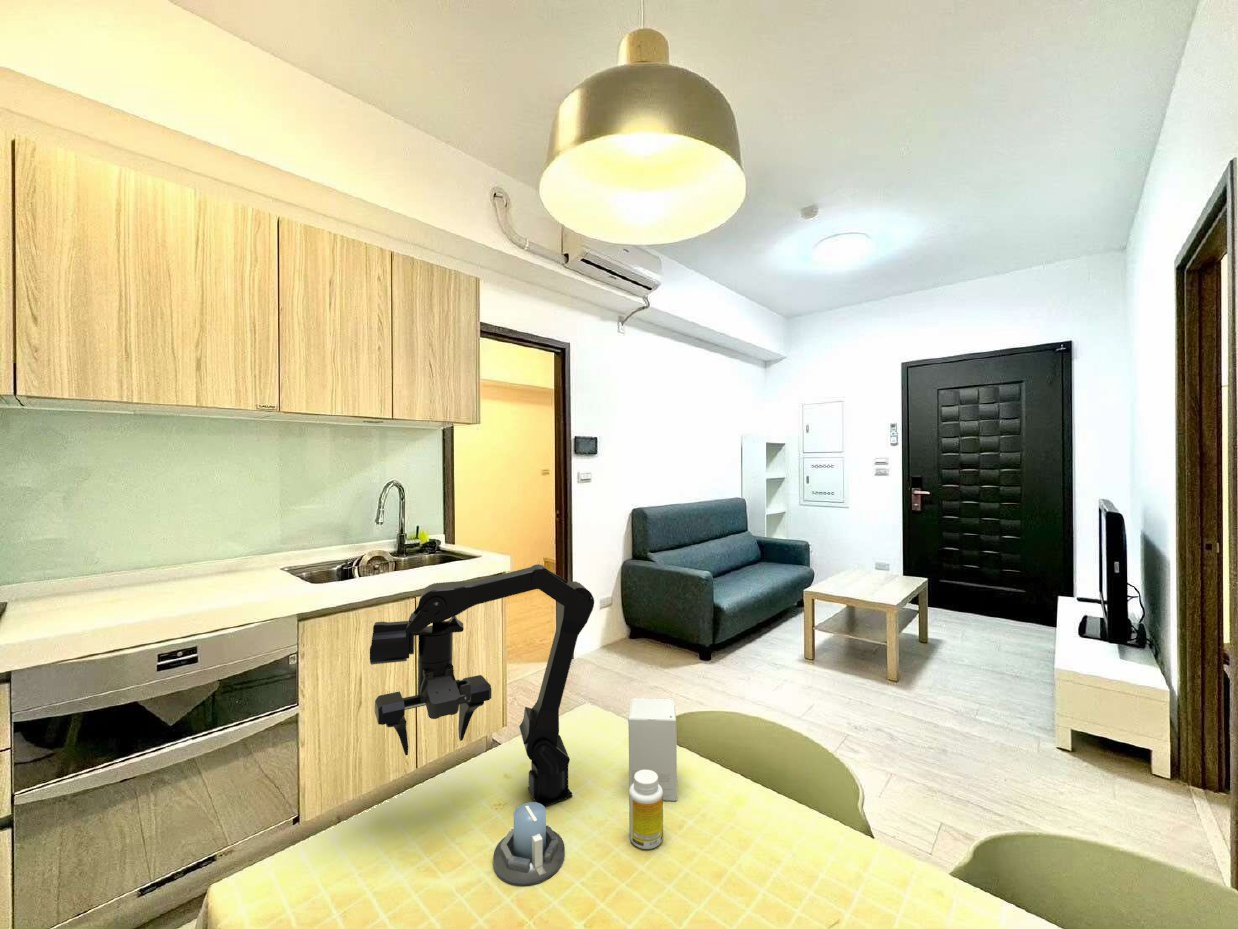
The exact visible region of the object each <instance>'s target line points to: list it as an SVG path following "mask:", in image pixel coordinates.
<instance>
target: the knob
mask: <svg viewBox="0 0 1238 929" xmlns="http://www.w3.org/2000/svg"><path fill="white" fill-rule="evenodd" d="M546 825H547V809H546V806H545V807H544V806H543V805H542V804H540V803H536V801H532V802H525V803H523V804H519V806H518V807H516V809H515V810H514V811H513V829H514V856H516V857H521V858H526V859H530V863H532V864H533V866H534V868H535V869H536V868H538V867H540V866H543V856H544V854H545V852H546Z"/></svg>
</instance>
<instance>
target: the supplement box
mask: <svg viewBox="0 0 1238 929" xmlns="http://www.w3.org/2000/svg"><path fill="white" fill-rule="evenodd" d="M629 708H630V709H629V714H628V717H627V718H628V719H627V721H628V722H627V723H628V776H629V777H628V778H629V779H628V786H629V788H628V789H629V790H630V787H631V785H632V784H633V783H634V775H635V773H636V772H638V771H640V770H651V771H654V772H655V773H656V774H657V775H658V784H659V785H660V786H661V788H662V790H663V801H665V802H666V801H668V802H672V801H673V802H676V801H678V784H677V783H678V770H677V769H678V767H677V765H678V764H677V761H678V760H677V759H678V754H677V753H678V751H677V748H678V747H677V746H678V745H677V744H678V743H677V738H678V737H677V712H676V705H675V699H669V698H666V699H665V698H664V699H663V698H659V699H658V698H635V697H634V698H631V700H630V707H629Z"/></svg>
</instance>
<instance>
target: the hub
mask: <svg viewBox="0 0 1238 929" xmlns="http://www.w3.org/2000/svg"><path fill="white" fill-rule="evenodd" d="M565 847H566V846H565V842H564V840H563V838H562V836H560V834H558V833H557V832H556V831H555V830H553V829H552V827H551V826H550V825H547V824H546V852H545V854H544V856H543V866H540V867H538V868H536V869H535V868H534V866H533V864H532V863H530V859H526V858H521V857H516V856H514V828H512V829H510V830H509V831H508V833H507V834H506V836H504V837H503V838H502V839H501V840H500V841H499V842H498V843H497V845H496V846H495V848H494V850H493V851H494V852H493V858H492V859H493V862H492V863H493V864H492V865H493V869H494V872H495V874H496V876H497V878H499V879H500V880H501V881H503V882H505V883H506V884H508V885H512V886H517V887H528V886H529V887H530V886H535V885H538V884H541V883H543V882H546V881H547V880H550V878H552V877H553V876H554V875H556V874H557V873H558V872H559V870H560V869H561V868H562V867H563V864H564V861H565V854H566V853H565V851H566V850H565V849H566V848H565Z"/></svg>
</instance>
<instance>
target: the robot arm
mask: <svg viewBox="0 0 1238 929" xmlns="http://www.w3.org/2000/svg"><path fill="white" fill-rule="evenodd" d="M535 590H539V591H541V592H543V593H544V594H545V595H547V596H548V597H550V598H551V599H552V600H554V601H555V602H556V607H555V608H556V609H555V610H556V616H555V618H556V619H555V620H556V627H555V633H554V635H553V641H552V644H551V648H550V651H549V656H548V659H547V664H546V667H545V670H544V674H543V677H542V678H543V679H542V683H541V684H540V685H541V686H540V690H539V692H538V697H537V701H536V702H535V703H534V705H533V706H532V708H530V707H528V706H525V707H524V712H523V713H524V714H523V719H522V721H521V723H520V725H519V730H520V735H521V738H522V742H523V745H524V749H525V754H526V756H527V757H528V759H529V760H530V763H531V764H530V765H531V767H530V768H531V769H530V770H529V771H528V787H527V791H528V793H529V795H530V797H531V798H532V800H534V802H536V803H540V804H542V805H543V806H544V807H545V808H546V807H548V806H550V805H553V804H556V803H559V802H562V801H564V800H567V799H570V798H572V797H573V792H572V791H571V789H570V788H569V764H570V756H569V754H568V752H567V748H566V747H565V744H564V742H563V739H562V737H561V735H560V722H559V721H560V718H559V716H560V715H559V714H560V706H561V703H562V700H563V699H562V698H563V695H564V691H565V689H566V688H565V687H566V683H567V680H568V677H569V672H570V669H571V665H572V664H571V663H572V661H573V657H574V653H575V648H576V646H577V642H578V637H579V636H580V633H581V632H582V631H583V629H584V628H585V626H586V625H587V624H588V622H589V619H590V616H591V614H592V612H593V610H594V607H595V598H594V596H593V594H592V592H591V591H590V590H588V588H586V587H585V586H584V585H583V584H581V582H579V581H573V580H572V581H567V580H566V579H564V578H562V577H561V576H560V575H558V574H555V573H554V572H552V571H551V570H549V569H548V568H546V566H544V565H543V564H534V565H532V566H530V567H525V568H521V569H518V570H515V571H514V570H513V571H510V572H506V573H501V574H497V575H494V576H493V575H492V576H490V577H485V578H481V579H478V580H477V579H476V580H473V581H446V582H445V581H444V582H443V581H442V582H436V583H435V582H434V583H431V584H428V585H427V586H425V588H424V589H423V590H422V592H421V593H420V598H419V601H418V605H417V607H416V608H415V610H414V611H413V612H412V613H410V615H409V617H408V620H401V621H388V622H387V621H376V622H374V624H373V627H372V636H371V642H370V643H371V645H370V647H369V664H370V665H373V666H374V665H383V664H393V663H400V662H401V663H402V662H407V661H408V659H410V655H415V646H416V645H415V644H416V642H415V641H416V636H417V638H418V644H417V645H418V648H417V649H418V650H417V654H418V655H417V694H415V695H410V696H406V697H403V696H402V693H401V691H394V692H390V693H386V694H381V695H378V696H377V697H376V698H375V699H374V714H375V717H376V721H377V725H380V726H384V725H386V727H387V728H394V730H395V731H396V734H397V735H398V737H399V740H400V743H401V746H402V750H403V752H404V753H403V754H404V756H406V757H407V756H408V755H409V741H408V733H407V720H406V717H405V714H406V711H407V710H411V709H417V708H421V707H424V706H425V707H426V711H427V716H428V718H429V719H431V720H437V719H439V718H441V717H446V716H454V715H457V714H458V728H457V730H458V739H459V741H460V742H461V741H463V740H464V737H465V735H466V732H467V730H468V727H469V724H470V720H471V718H472V717H473V715H474V712H475V711H476V710H477V709H478V708H479V707H481V706H484V704H485V702H487V701H490V700H491V699H492V686H491V684H490V683H489V682H488V680H487V679H486V678H485V677H484V676H483V675H482V674H478V675H474V676H468V677H463V678H462V679H456V676H455V674H454V673H455V672H454V665H453V650H454V649H453V647H454V646H453V643H454V642H453V641H454V640H453V637H454V633H462V632H463V631H464V629H465V628H464V627H465V626H464V623H463V622H462V621H461V620H460V619H458V618H457V615H458V616H459V615H460V614H461V613H463V612H464V611H466V610H468V609H470V608H472V607H474V606H478V605H480V604H481V605H482V604H485V603H489V602H493V601H496V600H499V599H505V598H508V597H511V596H515V595H516V596H517V595H519V594H523V593H527V592H531V591H535ZM431 624H432V625H431Z"/></svg>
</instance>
